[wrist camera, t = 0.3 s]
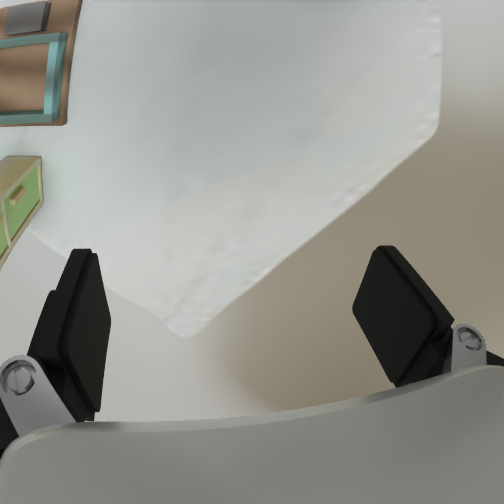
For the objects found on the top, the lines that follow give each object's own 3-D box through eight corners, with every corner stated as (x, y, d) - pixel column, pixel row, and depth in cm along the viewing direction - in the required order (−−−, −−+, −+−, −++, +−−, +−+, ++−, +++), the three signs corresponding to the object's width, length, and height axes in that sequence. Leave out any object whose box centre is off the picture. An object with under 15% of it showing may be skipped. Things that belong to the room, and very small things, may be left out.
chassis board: (-2, 10, 23) (-18, 9, 20) (82, -2, 27) (71, -6, 24) (-11, 125, 33) (-26, 134, 29) (66, 123, 37) (55, 131, 33)
